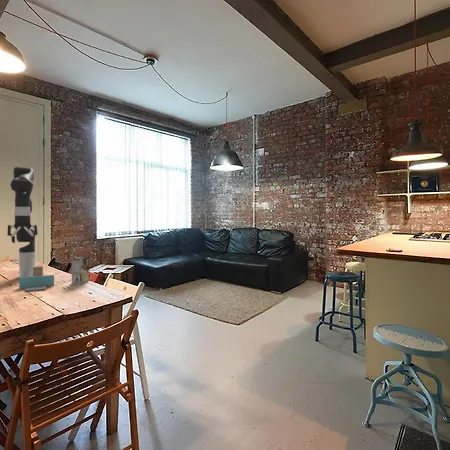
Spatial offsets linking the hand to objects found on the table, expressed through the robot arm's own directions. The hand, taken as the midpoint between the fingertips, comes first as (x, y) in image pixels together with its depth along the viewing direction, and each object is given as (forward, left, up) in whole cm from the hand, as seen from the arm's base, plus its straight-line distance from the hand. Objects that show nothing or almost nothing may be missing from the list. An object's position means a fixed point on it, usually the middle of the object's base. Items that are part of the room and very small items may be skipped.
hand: (23, 242), depth 173 cm
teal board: (-7, +6, -28) cm, 29 cm away
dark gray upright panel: (0, +6, -28) cm, 29 cm away
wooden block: (-15, +6, -28) cm, 32 cm away
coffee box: (-10, +30, -28) cm, 42 cm away
